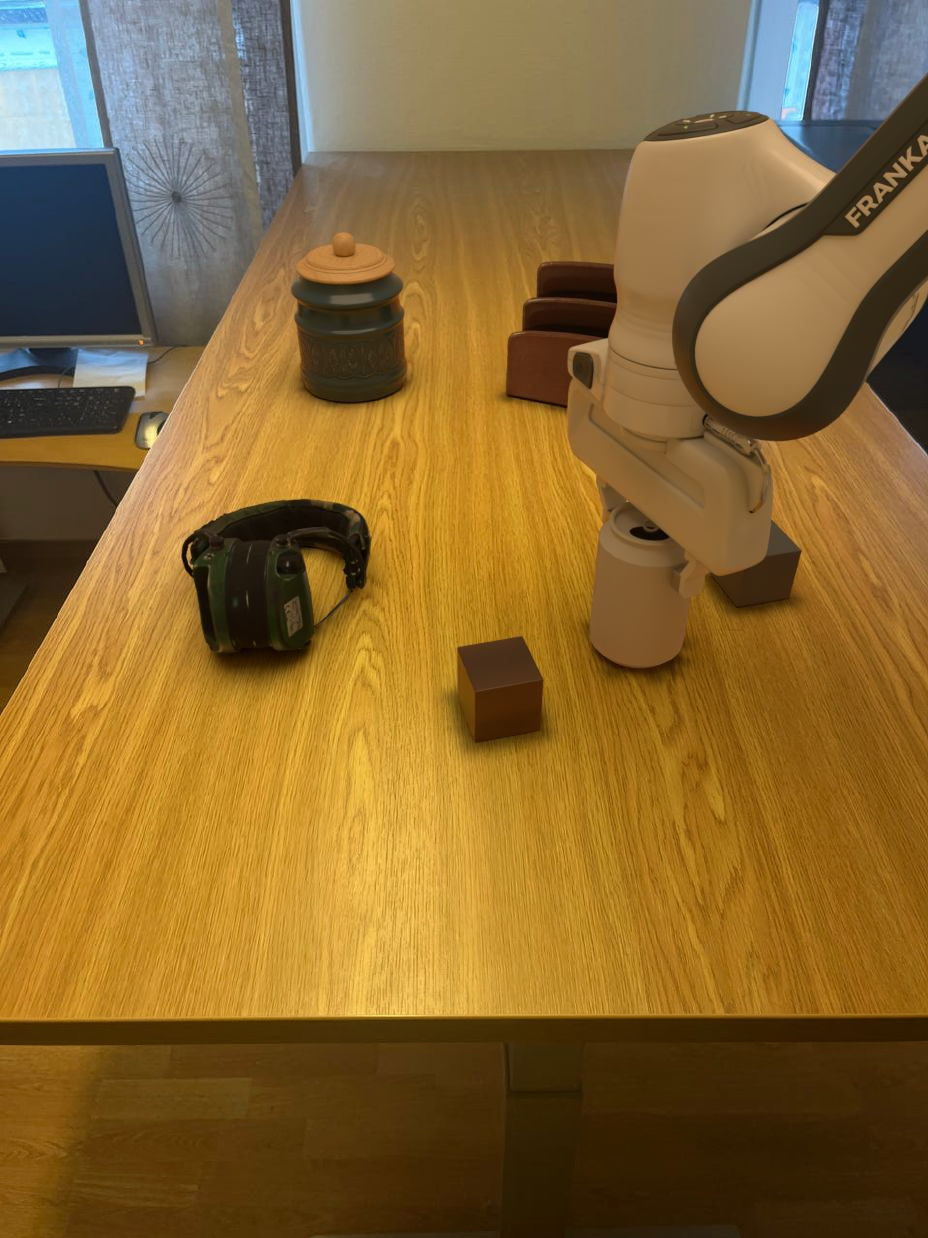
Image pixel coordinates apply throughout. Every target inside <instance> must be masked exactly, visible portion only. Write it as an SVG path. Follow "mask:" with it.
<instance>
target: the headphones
mask: <svg viewBox="0 0 928 1238" xmlns="http://www.w3.org/2000/svg"><path fill="white" fill-rule="evenodd" d="M372 539H373V537H372V535H371V532H370V529H369V525H368V522H367V520H366V518H365V517H364V515H363V514H362V513H361V512H360V511H358V510H357V509H356V508H354V507H352V506H349V505H347V504H343V503H340V502H335V501H325V500H321V499H311V498H296V499H287V500H286V499H281V500H280V499H279V500H273V501H267V502H263V503H258V504H253V505H249V506H245V507H242V508H238V509H237V510H234V511H231V512H228V513H225V512H224V513H223V514H222V515H220V516H219V517H217V518H216V519H215V520H214V519H212V520H209V522H207V523H206V524H203V525H202V526H201V527H200V528H198V529H195V530H193V533H191V534H190V535H189V536H187V538H186V539H185V540H184V541H183V544H182V545H181V554H180V555H181V556H180V558H181V561H182V565H183V567H184V568H183V569H184V571H186V573H187V574H188V575H189V577H190V578H191V579H193V582H194V586H195V591H196V596H197V603H198V609H199V610H198V611H199V617H200V625H201V626H200V627H201V631H202V634H203V638H204V641H205V644H207V645H208V647H209V649H210V651H211V652H213V653H215V654H221V653H222V654H231V653H236V652H237V653H238V652H239V651H241V650H242V649H244V648H249V649H259V648H267V647H271V648H272V649H274V650H276V651H294V650H295V651H296V650H305V649H308V647H309V646H310V645H311V644H312V639H313V636H314V634H315V628H317V627H318V626H320V625H322V624H323V623H324V622H325V621H327V620H328V619H329V618H331V617H332V616H333V615H334V614H335V613H336V612H337V611H338V610H339V609H340V608H341V607H342V606H343V605H344V604H345V603H346V601H348V599H349V597H350V595H351V594H352V593H353V592H354V590H355V589H356V588H358V589H360V590H363V589H364V588H365V586H366V584H367V571H368V566H369V562H370V558H371V549H372ZM189 545H190V547H189ZM300 546H301V547H313V548H317V549H318V548H319V549H323V550H326V551H331V552H334V553H338V554H341V555H342V560H343V561H344V567H343V568H342V572H343V574H344V575H345V585H346V588H347V589H348V591H347V593H346V594H345V596H343V597H342V599H340V601H339V602H338V603H337V604H336V605H335V606H334V607H333V608H332V609H331V610H330V611H329V612H328V613H327V614H326V616H325V617H323V618H322V619H321V620H320V621H319V622H317V623H316V624H315V618H314V607H313V606H314V605H313V596H312V590H311V585H310V581H309V576H308V575H309V574H308V571H307V567H306V562H305V557H304V555H303V552H302V551H301V548H300ZM188 550H189V552H190V559H189V560H188V556H187V555H188ZM190 565H192V567H191V566H190Z"/></svg>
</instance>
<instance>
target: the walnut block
mask: <svg viewBox="0 0 928 1238" xmlns="http://www.w3.org/2000/svg"><path fill="white" fill-rule="evenodd" d="M456 657H457V658H456V664H457V665H456V667H457V669H456V671H457V672H456V673H457V675H456V677H457V678H456V679H457V699H458V702H459V704H460V708H461V709H462V712H463V714H464V715H463V716H464V718H465V720H466V723H467V726H468V728H469V731H470V734H471V737H472V739H473V741H474V743H479V742H480V743H481V742H485V741H490V740H495V739H502V738H506V737H512V736H515V735H516V736H517V735H521V734H528V733H532V732H537V731H541V727H542V725H541V724H542V710H543V694H544V680H545V679H544V677H543V675H542V673H541V671H540V669H539V666H538V665H537V663H536V661H535V659H534V657H533V655H532V653H531V650H530V648H529V647H528V644H527V642H526V641H525V639H524V636H522V635H520V636H513V637H508V638H502V639H495V640H489V641H484V642H479V643H472V644H467V645H462V646H457V648H456Z"/></svg>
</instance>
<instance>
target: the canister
mask: <svg viewBox="0 0 928 1238" xmlns="http://www.w3.org/2000/svg"><path fill="white" fill-rule="evenodd" d="M395 268H396V262H395V260H394V259H393V257H391V256H390V255H388V254H386V253H384V252H383V251H382V250H381V249H380V248H379V247H376V246H374V245H369V244H365V243H358V242H357V243H356V240H355V238H354V237H353V235H352V234H351V233H349V232H343V231H342V232H339V233H336V234H335V235H334V237H333V239H332V243H331V244H325V245H322V246H318V247H316V248H314V249H311V250H310V251H309V252H308V253H307V255H306V256H304V257H303V258H301V259H300V260H299V261H298V262H297V263H296V265H295V271H296V273H297V274H298V278H296V279H295V280H294V281H293V282H292V284H291V286H290V292H291V295H292V296H293V297H294V299H296V308H297V309H296V311H295V313H294V317H293V318H294V322H295V324H296V331H297V332H296V333H297V340H298V348H299V357H300V363H299V370H300V376H301V379H302V380H303V385H304V388H305V389H306V390H307V391H308V392H309V393H310V394H312V395H314V396H316V397H318V398H320V399H324V400H327V401H333V402H339V403H341V402H342V403H359V402H368V401H372V400H373V401H374V400H377V399H381V398H385V397H387V396H389V395H392V394H393V393H395V392H397V391H398V390H399V389H401V388H402V387H403V385H404V384H405V382H406V376H407V375H406V374H407V372H408V365H407V364H408V359H407V357H406V347H405V346H406V344H405V343H406V342H405V325H404V324H405V323H404V318H405V309H404V307H403V306H402V304H401V300H400V294H401V293H402V292H403V289H404V281H403V279H401V277H400V276H399V275H397V274H396V273H394V270H395Z"/></svg>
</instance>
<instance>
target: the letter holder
mask: <svg viewBox="0 0 928 1238" xmlns="http://www.w3.org/2000/svg"><path fill="white" fill-rule="evenodd" d="M616 309H617V290H616V285H615V280H614V263H605V262H604V263H602V262H593V261H592V262H591V261H574V260H573V261H571V260H569V261H568V260H563V261H562V260H561V261H559V260H558V261H556V260H555V261H553V260H552V261H544V262H542V263H541V264H540V265H539V266H538V268H537V272H536V296H533V297H530V298H527V300H525V301H524V302H523V305H522V320H521V321H522V324H521V331H514V332H512V333H510V335H509V336H508V339H507V346H506V347H507V355H506V363H507V364H506V374H505V375H506V378H505V393H506V395H507V396H511V397H516V398H522V399H525V400H526V399H527V400H531V401H535V402H541V403H547V404H552V405H558V406H563V407H567V408H568V392H569V386H570V382H571V380H572V379H573V377H572V376H571V375H570V374H569V372H568V352H569V349H570V348H571V347H574V346H578V345H581V344H585V343H589V342H593V341H597V340H602V339H606V338H608V336H609V330H610V327H611V324H612V322H613V320H614V317H615V314H616Z"/></svg>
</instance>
